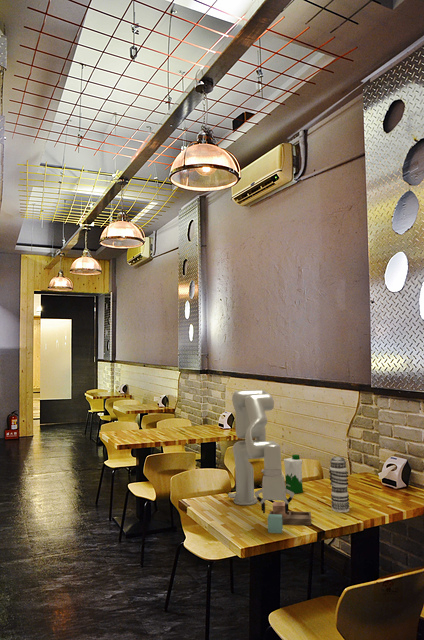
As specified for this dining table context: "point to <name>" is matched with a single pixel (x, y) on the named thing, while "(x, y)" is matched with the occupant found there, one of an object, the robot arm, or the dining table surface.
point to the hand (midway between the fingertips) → (275, 512)
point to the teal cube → (275, 523)
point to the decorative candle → (339, 484)
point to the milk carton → (293, 474)
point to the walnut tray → (291, 515)
